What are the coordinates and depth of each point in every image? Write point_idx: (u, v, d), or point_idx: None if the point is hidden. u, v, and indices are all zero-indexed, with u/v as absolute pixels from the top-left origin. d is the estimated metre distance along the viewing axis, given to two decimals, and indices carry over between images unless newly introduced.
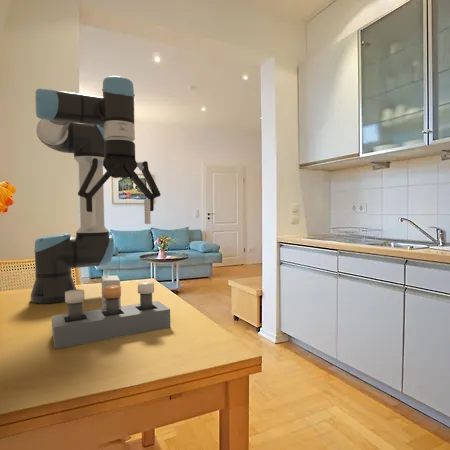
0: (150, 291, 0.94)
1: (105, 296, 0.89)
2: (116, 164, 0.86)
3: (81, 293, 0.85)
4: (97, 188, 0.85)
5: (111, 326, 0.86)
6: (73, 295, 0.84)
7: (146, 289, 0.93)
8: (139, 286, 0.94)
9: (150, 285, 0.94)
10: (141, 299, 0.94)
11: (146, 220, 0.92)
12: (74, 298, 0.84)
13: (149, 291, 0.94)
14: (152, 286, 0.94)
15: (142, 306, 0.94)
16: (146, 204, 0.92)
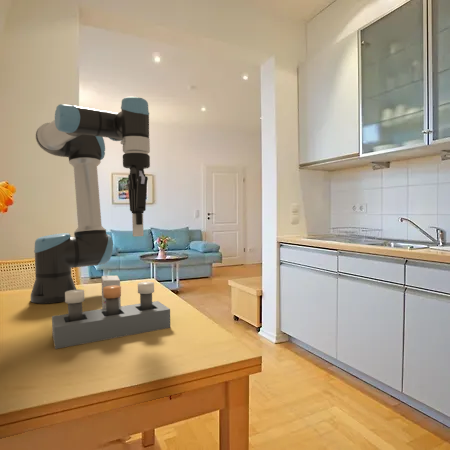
0: (150, 291, 0.94)
1: (105, 296, 0.89)
2: (128, 176, 1.00)
3: (81, 293, 0.85)
4: (132, 202, 1.01)
5: (111, 326, 0.86)
6: (73, 295, 0.84)
7: (146, 289, 0.93)
8: (139, 286, 0.94)
9: (150, 285, 0.94)
10: (141, 299, 0.94)
11: None
12: (74, 298, 0.84)
13: (149, 291, 0.94)
14: (152, 286, 0.94)
15: (142, 306, 0.94)
16: None
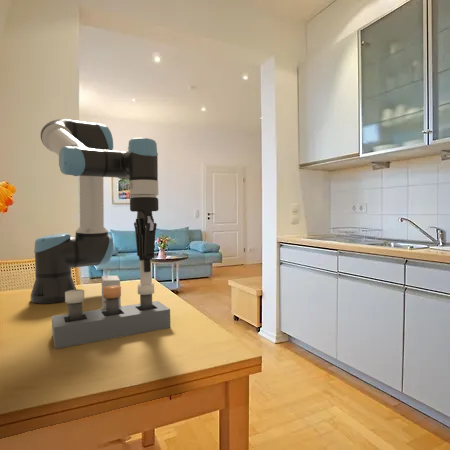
0: (150, 292, 0.94)
1: (105, 296, 0.89)
2: None
3: (81, 293, 0.85)
4: (139, 247, 0.95)
5: (111, 326, 0.86)
6: (73, 295, 0.84)
7: (146, 290, 0.93)
8: (139, 287, 0.94)
9: (150, 286, 0.94)
10: (141, 300, 0.94)
11: None
12: (74, 298, 0.84)
13: (149, 292, 0.94)
14: (152, 287, 0.94)
15: (142, 307, 0.94)
16: None
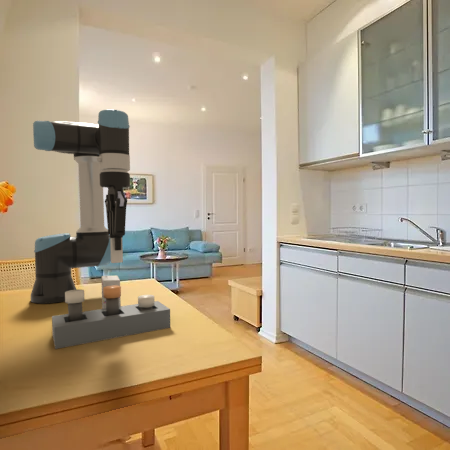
0: (150, 305, 0.94)
1: (105, 296, 0.89)
2: (106, 196, 0.91)
3: (81, 293, 0.85)
4: (110, 225, 0.91)
5: (111, 326, 0.86)
6: (73, 295, 0.84)
7: (146, 302, 0.93)
8: (139, 300, 0.94)
9: (150, 299, 0.94)
10: None
11: None
12: (74, 298, 0.84)
13: (149, 305, 0.94)
14: (152, 299, 0.94)
15: None
16: None
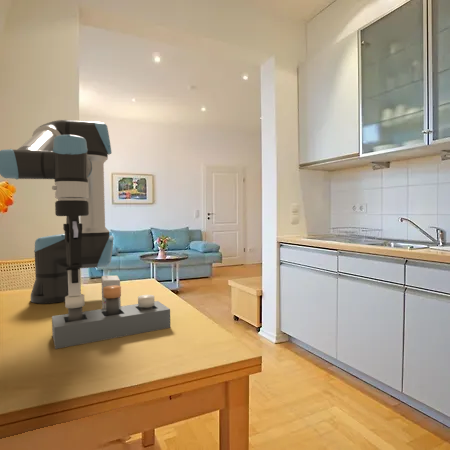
0: (150, 305, 0.94)
1: (105, 296, 0.89)
2: (63, 225, 0.86)
3: (81, 298, 0.86)
4: (67, 255, 0.86)
5: (111, 326, 0.86)
6: (74, 300, 0.84)
7: (146, 302, 0.93)
8: (139, 300, 0.94)
9: (150, 299, 0.94)
10: None
11: None
12: (74, 303, 0.84)
13: (149, 305, 0.94)
14: (152, 299, 0.94)
15: None
16: None
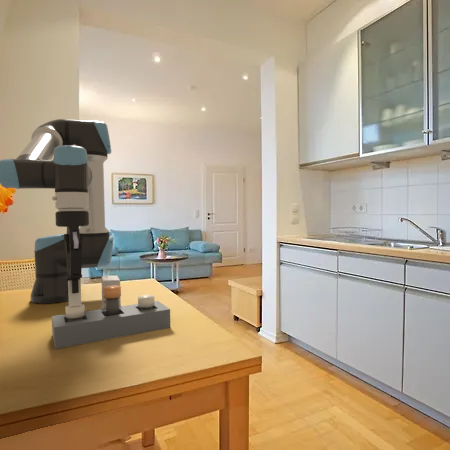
0: (150, 305, 0.94)
1: (105, 296, 0.89)
2: (63, 235, 0.86)
3: (81, 308, 0.86)
4: (68, 265, 0.86)
5: (111, 326, 0.86)
6: (74, 310, 0.84)
7: (146, 302, 0.93)
8: (139, 300, 0.94)
9: (150, 299, 0.94)
10: None
11: None
12: (74, 313, 0.84)
13: (149, 305, 0.94)
14: (152, 299, 0.94)
15: None
16: None
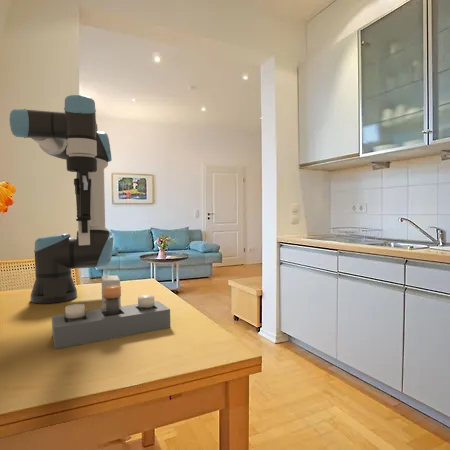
0: (150, 305, 0.94)
1: (105, 296, 0.89)
2: None
3: (81, 308, 0.86)
4: (77, 208, 0.94)
5: (111, 326, 0.86)
6: (74, 310, 0.84)
7: (146, 302, 0.93)
8: (139, 300, 0.94)
9: (150, 299, 0.94)
10: None
11: None
12: (74, 313, 0.84)
13: (149, 305, 0.94)
14: (152, 299, 0.94)
15: None
16: None
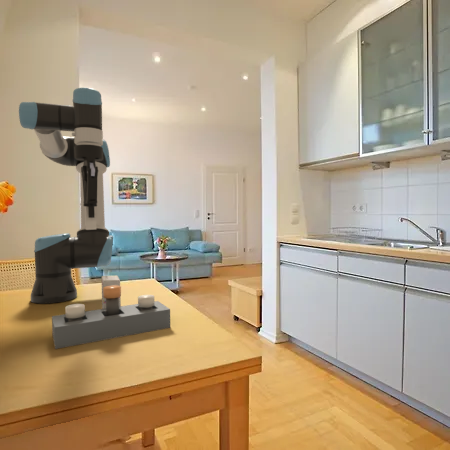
0: (150, 305, 0.94)
1: (105, 296, 0.89)
2: (81, 168, 0.99)
3: (81, 308, 0.86)
4: (84, 195, 0.99)
5: (111, 326, 0.86)
6: (74, 310, 0.84)
7: (146, 302, 0.93)
8: (139, 300, 0.94)
9: (150, 299, 0.94)
10: None
11: None
12: (74, 313, 0.84)
13: (149, 305, 0.94)
14: (152, 299, 0.94)
15: None
16: None
